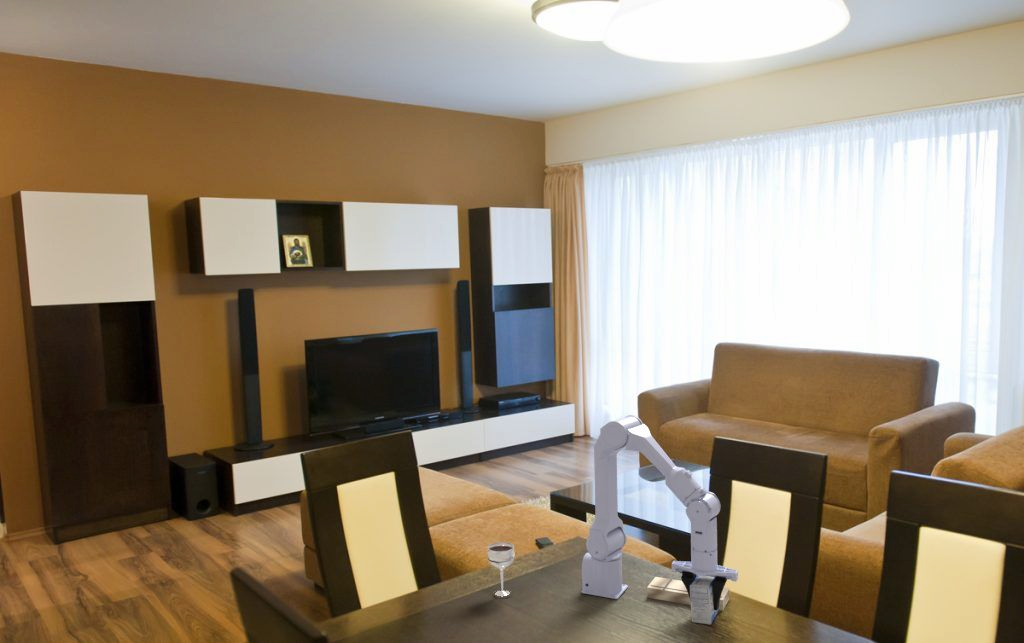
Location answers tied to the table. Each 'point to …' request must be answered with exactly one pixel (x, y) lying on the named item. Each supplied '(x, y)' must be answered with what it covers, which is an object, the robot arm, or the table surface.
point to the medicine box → (702, 600)
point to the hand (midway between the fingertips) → (704, 606)
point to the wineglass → (501, 560)
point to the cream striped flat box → (677, 592)
